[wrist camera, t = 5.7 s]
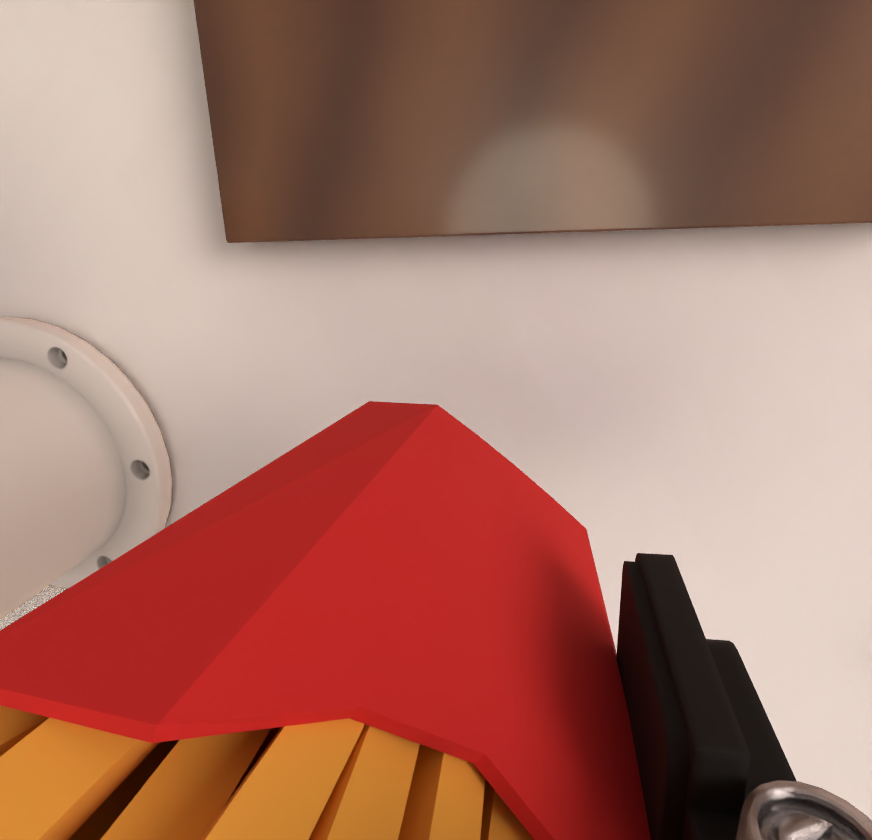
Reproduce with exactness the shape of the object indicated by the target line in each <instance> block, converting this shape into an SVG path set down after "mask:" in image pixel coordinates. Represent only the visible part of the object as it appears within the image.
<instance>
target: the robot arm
mask: <svg viewBox="0 0 872 840" xmlns="http://www.w3.org/2000/svg"><path fill="white" fill-rule="evenodd" d="M171 493H172V477H171V470H170V463H169V456H168V453H167V450H166V447H165V443H164V440H163V437H162V434H161V431H160V429H159V427H158V425H157V423H156V421H155V419H154V417H153V415H152V413H151V411H150V409H149V407H148V405H147V403H146V402H145V401H144V399H143V398H142V396H141V395H140V394H139V392H138V391H137V389H136V388H135V387H134V385H133V384H132V382H131V381H130V380H129V379H128V378H127V377H126V376H125V375H124V374H123V373H122V372H121V371H120V370H119V368H118V367H117V366H116V365H115V364H114V363H113V362H112V361H111V360H110V359H109V358H107V357H106V356H105V355H103V354H102V353H101V352H99V351H98V350H97V349H95V348H94V347H93V346H91V345H90V344H89V343H87V342H86V341H85V340H83V339H81V338H79V337H77V336H75V335H73V334H71V333H69V332H67V331H66V330H64V329H62V328H60V327H57V326H54V325H50V324H47V323H44V322H41V321H38V320H34V319H26V318H17V317H1V318H0V620H2V619H3V618H4V617H6V616H7V615H8V614H10V613H11V612H13V611H14V610H15V609H17V608H18V607H19V606H21V605H22V604H24V603H25V602H26V601H28V600H29V599H30V598H32V597H33V596H35V595H36V594H37V593H39V592H40V591H41V590H43V589H44V588H46V587H47V586H54V587H59V588H70V587H71V586H73V585H75V584H76V583H78V582H79V581H81V580H83V579H84V578H86V577H88V576H89V575H91V574H92V573H94V572H96V571H97V570H99V569H100V568H102V567H104V566H105V565H107V564H108V563H110V562H112V561H113V560H115V559H116V558H118V557H120V556H121V555H123V554H125V553H126V552H128V551H129V550H131V549H133V548H134V547H136V546H137V545H139V544H141V543H142V542H144V541H145V540H147V539H149V538H150V537H152V536H154V535H155V534H157V533H158V532H160V531H162V530H163V529H164V528H165V525H166V521H167V518H168V514H169V510H170V507H171ZM617 662H618V667H619V671H620V676H621V681H622V685H623V690H624V694H625V699H626V704H627V708H628V713H629V719H630V724H631V730H632V736H633V741H634V747H635V752H636V758H637V764H638V769H639V775H640V781H641V786H642V792H643V798H644V803H645V809H646V815H647V820H648V826H649V832H650V837H651V840H872V821H871V820H870V819H869V817H868V816H866V815H865V814H864V813H862V812H861V811H859V810H858V809H857V808H855V807H854V806H853V805H851V804H850V803H849V802H847V801H846V800H844V799H842V798H840V797H838V796H836V795H834V794H832V793H830V792H828V791H826V790H824V789H822V788H819V787H816V786H812V785H809V784H805V783H802V782H797V781H796V779H795V777H794V774H793V772H792V770H791V768H790V766H789V763H788V761H787V759H786V757H785V754H784V752H783V750H782V748H781V746H780V743H779V741H778V739H777V737H776V735H775V732H774V730H773V728H772V726H771V723H770V721H769V719H768V717H767V715H766V712H765V710H764V708H763V706H762V703H761V701H760V699H759V697H758V695H757V692H756V690H755V688H754V686H753V683H752V681H751V679H750V677H749V675H748V672H747V670H746V668H745V666H744V664H743V661H742V659H741V657H740V655H739V652H738V650H737V649H736V647H735V645H734V644H733V643H732V642H730V641H724V640H711V639H706V638H705V636H704V633H703V631H702V628H701V625H700V623H699V620H698V618H697V615H696V612H695V610H694V607H693V605H692V602H691V600H690V597H689V594H688V592H687V589H686V587H685V584H684V582H683V579H682V576H681V574H680V571H679V569H678V566H677V563H676V561H675V558H674V557H673V555H662V554H643V553H637V555H636V559H635V562H630V561H624V564H623V572H622V587H621V601H620V615H619V630H618V644H617Z"/></svg>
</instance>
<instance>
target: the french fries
mask: <svg viewBox="0 0 872 840" xmlns="http://www.w3.org/2000/svg"><path fill="white" fill-rule="evenodd" d="M0 840H651V837H650V832H649V826H648V820H647V815H646V809H645V803H644V798H643V792H642V786H641V781H640V775H639V769H638V764H637V758H636V752H635V747H634V741H633V736H632V730H631V724H630V719H629V713H628V708H627V704H626V699H625V694H624V690H623V685H622V681H621V676H620V671H619V667H618V662H617V654H616V650H615V646H614V641H613V637H612V633H611V629H610V625H609V621H608V617H607V613H606V608H605V604H604V600H603V596H602V592H601V588H600V584H599V580H598V575H597V571H596V567H595V563H594V559H593V555H592V551H591V547H590V542H589V538H588V534H587V530H586V528H585V527H584V526H582V525H581V524H580V523H579V522H578V521H577V520H576V519H575V518H574V517H573V516H572V515H570V514H569V513H568V512H567V511H566V510H565V509H564V508H563V507H562V506H561V505H560V504H559V503H557V502H556V501H555V500H554V499H553V498H552V497H551V496H550V495H549V494H547V493H546V492H545V491H544V490H543V489H542V488H540V487H539V486H538V485H537V484H536V483H535V482H533V481H532V480H531V479H530V478H529V477H528V476H527V475H525V474H524V473H523V472H522V471H521V470H520V469H518V468H517V467H516V466H515V465H514V464H513V463H511V462H510V461H509V460H508V459H506V458H505V457H504V456H503V455H501V454H500V453H499V452H498V451H496V450H495V449H494V448H493V447H491V446H490V445H489V444H488V443H487V442H485V441H484V440H483V439H482V438H480V437H479V436H478V435H477V434H475V433H474V432H473V431H471V430H470V429H469V428H467V427H466V426H465V425H463V424H462V423H461V422H460V421H458V420H457V419H456V418H454V417H453V416H452V415H450V414H449V413H448V412H446V411H445V410H444V409H442V408H441V407H440V406H438V405H430V404H410V403H391V402H372V401H369V402H368V403H366V404H364V405H363V406H361V407H359V408H358V409H356V410H355V411H353V412H351V413H350V414H348V415H347V416H345V417H343V418H342V419H340V420H339V421H337V422H335V423H334V424H332V425H331V426H329V427H327V428H326V429H324V430H322V431H321V432H319V433H318V434H316V435H314V436H313V437H311V438H310V439H308V440H306V441H305V442H303V443H302V444H300V445H298V446H297V447H295V448H294V449H292V450H290V451H289V452H287V453H285V454H284V455H282V456H281V457H279V458H277V459H276V460H274V461H273V462H271V463H269V464H268V465H266V466H265V467H263V468H261V469H260V470H258V471H256V472H255V473H253V474H252V475H250V476H248V477H247V478H245V479H244V480H242V481H240V482H239V483H237V484H236V485H234V486H232V487H231V488H229V489H228V490H226V491H224V492H223V493H221V494H219V495H218V496H216V497H215V498H213V499H211V500H210V501H208V502H207V503H205V504H203V505H202V506H200V507H199V508H197V509H195V510H194V511H192V512H191V513H189V514H187V515H186V516H184V517H182V518H181V519H179V520H178V521H176V522H174V523H173V524H171V525H170V526H168V527H166V528H165V529H163V530H162V531H160V532H158V533H157V534H155V535H154V536H152V537H150V538H149V539H147V540H145V541H144V542H142V543H141V544H139V545H137V546H136V547H134V548H133V549H131V550H129V551H128V552H126V553H125V554H123V555H121V556H120V557H118V558H116V559H115V560H113V561H112V562H110V563H108V564H107V565H105V566H104V567H102V568H100V569H99V570H97V571H96V572H94V573H92V574H91V575H89V576H88V577H86V578H84V579H83V580H81V581H79V582H78V583H76V584H75V585H73V586H71V587H70V588H68V589H67V590H65V591H63V592H62V593H60V594H59V595H57V596H55V597H54V598H52V599H51V600H49V601H47V602H46V603H44V604H42V605H41V606H39V607H38V608H36V609H34V610H33V611H31V612H30V613H28V614H26V615H25V616H23V617H22V618H20V619H18V620H17V621H15V622H14V623H12V624H10V625H9V626H7V627H5V628H4V629H2V630H1V631H0Z"/></svg>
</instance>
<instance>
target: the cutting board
mask: <svg viewBox="0 0 872 840" xmlns="http://www.w3.org/2000/svg"><path fill="white" fill-rule="evenodd" d="M194 6H195V13H196V20H197V28H198V35H199V42H200V50H201V57H202V64H203V72H204V79H205V86H206V94H207V101H208V108H209V116H210V123H211V130H212V138H213V145H214V152H215V160H216V167H217V174H218V182H219V189H220V196H221V204H222V211H223V218H224V225H225V233H226V240H227V242H228V243H240V242H272V241H304V240H335V239H367V238H399V237H431V236H463V235H494V234H526V233H558V232H590V231H622V230H654V229H685V228H717V227H749V226H781V225H813V224H844V223H872V0H194Z"/></svg>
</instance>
